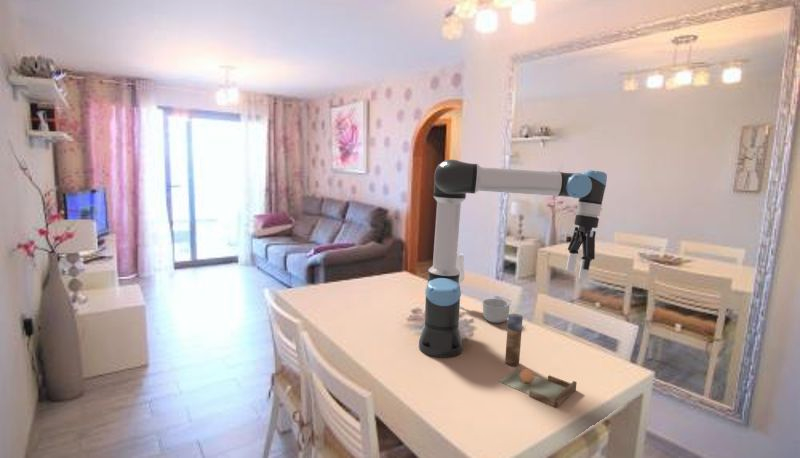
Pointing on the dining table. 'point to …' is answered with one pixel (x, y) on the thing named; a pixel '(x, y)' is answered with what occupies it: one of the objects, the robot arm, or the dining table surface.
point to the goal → (542, 388)
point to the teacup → (495, 310)
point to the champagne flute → (460, 268)
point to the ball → (526, 375)
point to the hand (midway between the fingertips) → (576, 274)
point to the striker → (513, 340)
